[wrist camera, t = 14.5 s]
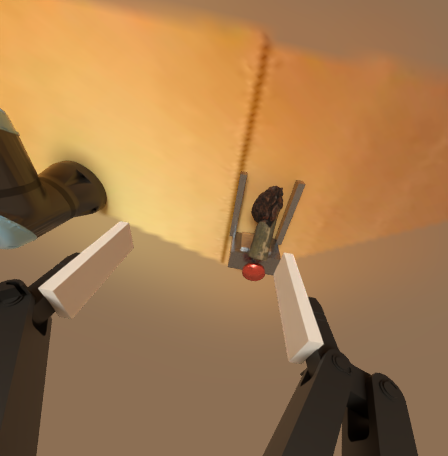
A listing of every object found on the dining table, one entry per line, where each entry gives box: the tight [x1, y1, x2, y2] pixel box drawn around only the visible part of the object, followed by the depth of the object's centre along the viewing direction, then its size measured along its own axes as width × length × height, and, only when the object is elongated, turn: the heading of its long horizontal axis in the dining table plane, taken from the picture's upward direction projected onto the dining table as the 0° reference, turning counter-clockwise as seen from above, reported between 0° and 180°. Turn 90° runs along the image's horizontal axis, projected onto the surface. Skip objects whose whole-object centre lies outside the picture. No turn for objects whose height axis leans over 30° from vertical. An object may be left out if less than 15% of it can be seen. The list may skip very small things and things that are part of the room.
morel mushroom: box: [248, 186, 283, 261], centre depth 40 cm, size 18×7×6 cm
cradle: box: [228, 171, 305, 281], centre depth 42 cm, size 15×24×12 cm, turn 173°
